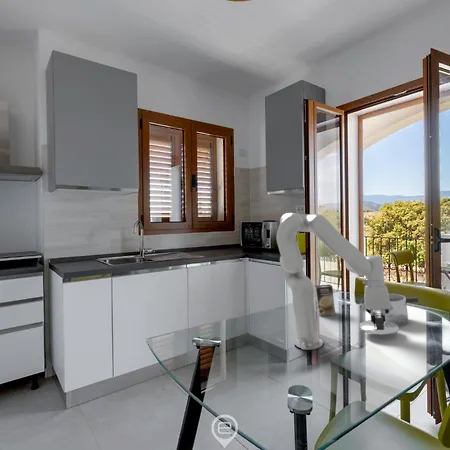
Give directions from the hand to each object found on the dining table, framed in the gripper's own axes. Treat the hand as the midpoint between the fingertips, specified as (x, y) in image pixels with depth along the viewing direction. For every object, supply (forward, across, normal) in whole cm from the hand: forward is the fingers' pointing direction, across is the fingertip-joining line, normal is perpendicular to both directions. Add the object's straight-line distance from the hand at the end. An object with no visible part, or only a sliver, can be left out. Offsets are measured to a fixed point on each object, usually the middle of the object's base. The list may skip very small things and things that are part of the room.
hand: (378, 323), depth 147 cm
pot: (+5, +8, +17) cm, 20 cm away
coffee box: (+6, -23, +32) cm, 40 cm away
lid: (+3, 0, 0) cm, 3 cm away
